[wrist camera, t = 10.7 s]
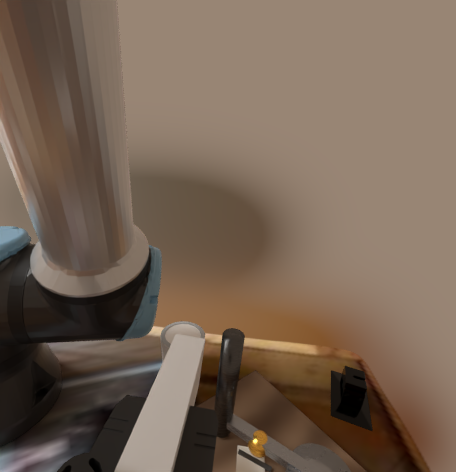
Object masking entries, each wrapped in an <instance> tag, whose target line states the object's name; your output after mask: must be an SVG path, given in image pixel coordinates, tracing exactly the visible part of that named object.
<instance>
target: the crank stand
mask: <svg viewBox="0 0 456 472" xmlns="http://www.w3.org/2000/svg"><path fill="white" fill-rule="evenodd" d="M215 397H216V395H215V396H213V397H211V398H210V399H208V400H206V401H205V402H203V403H202V404H200V405H198V406H197V407H201V408H206V409H212V410H214V406H215ZM233 414H235V415H236V416H238V417H239V418H241V419H243V420H244V421H246V422H247V423H249V424H250V425H252V426H254V427H255V428H257V429H258V430H262V431H264V432H265V433H266V434H267V435H268V436H269V437H271V438H272V439H274V440H276V441H277V442H279V443H280V444H282V445H283V446H285V447H287V448H288V449H290V450H291V451H293V450H294V449H295V448H296V447H298V446H300V445H302V444H306V443H314V444H319V445H322V446H324V447H326V448H328V449H330V450H332V451H333V452H334V453H336V454H337V455H338V456H339V457H340V458H341V459H342V460H343V461H344V462H345V463H346V465H347V466H348V467H349V469H350V471H351V472H367V471H366V470H365V469H363V468H362V467H361V466H360V465H359V464H358V463H357V462H356V461H355V460H354V459H352V458H351V457H350V456H349V455H348V454H347V453H346V452H345V451H344V450H343V449H342V448H340V447H339V446H338V445H337V444H336V443H335V442H334V441H333V440H332V439H331V438H329V437H328V436H327V435H326V434H325V433H324V432H323V431H322V430H321V429H320V428H319V427H317V426H316V425H315V424H314V423H313V422H312V421H311V420H310V419H309V418H308V417H306V416H305V415H304V414H303V413H302V412H301V411H300V410H299V409H298V408H297V407H296V406H294V405H293V404H292V403H291V402H290V401H289V400H288V399H287V398H286V397H285V396H283V395H282V394H281V393H280V392H279V391H278V390H277V389H276V388H275V387H274V386H273V385H271V384H270V383H269V382H268V381H267V380H266V379H265V378H264V377H263V376H262V375H260V374H259V373H258V372H257V371H256V370H255V371H253V372H252V373H250V374H249V375H247V376H245V377H244V378H242V379H241V380H239V381H238V386H237V393H236V399H235V406H234V413H233ZM212 472H286V468H284V467H283V466H281V465H280V464H278V463H277V462H275V461H274V460H272V459H271V458H270V457H268V456H267V455H266V456H265V457H263V458H257V457H255V456H253V455H252V454H251V452H250V450H249V448H248V443H247V442H246V441H244V440H243V439H241V438H240V437H238V436H237V435H235V434H234V433H233V432H230V434H229V435H228V436H227V437H224V438H220V437H216V446H215V454H214V462H213V470H212Z"/></svg>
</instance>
